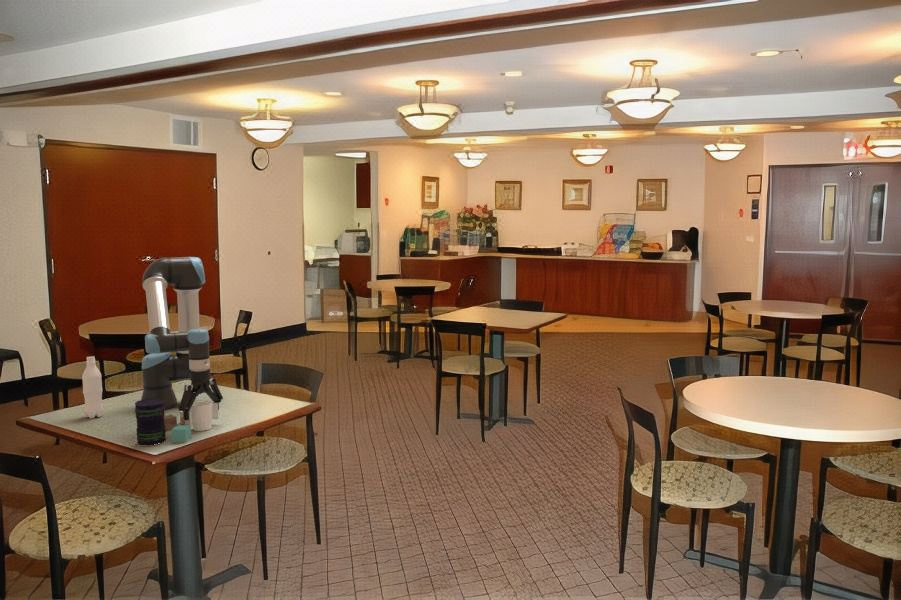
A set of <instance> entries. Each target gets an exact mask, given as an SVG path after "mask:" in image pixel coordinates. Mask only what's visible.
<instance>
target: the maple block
mask: <svg viewBox="0 0 901 600" xmlns="http://www.w3.org/2000/svg"><path fill="white" fill-rule="evenodd" d="M190 411H191V409H190ZM191 416H192V415H191ZM179 422H180V423H179V424H180V425H185V420H184V413H183V411H179ZM192 425H193V422H192Z"/></svg>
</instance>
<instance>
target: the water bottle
mask: <svg viewBox="0 0 901 600" xmlns="http://www.w3.org/2000/svg"><path fill="white" fill-rule="evenodd" d="M85 364H86V365H85V366H86V367H85V369H84V371H83V373H82V375H81V379H82V394H83V396H84V407H83V408H84V409H83V411H84V415H85V417H86V418H87V417H89V419H95V417H97V418H101V417H102V416H103V414H104V410H105V409H104V408H105V407H104V404H103V398H102V397H103V381H102V376H103V375H102V373H101V371H100V369H99V368H98V367H97V365H96V358H95V355H92V356H86V362H85ZM100 416H101V417H100Z"/></svg>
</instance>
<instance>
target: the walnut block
mask: <svg viewBox="0 0 901 600" xmlns="http://www.w3.org/2000/svg"><path fill="white" fill-rule="evenodd" d="M164 425H165V430H166V432H169V431H168V430H170V431H172V429H173V428H174V427H176V426H177V425H178V416H176V415H174V414H165V415H164Z"/></svg>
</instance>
